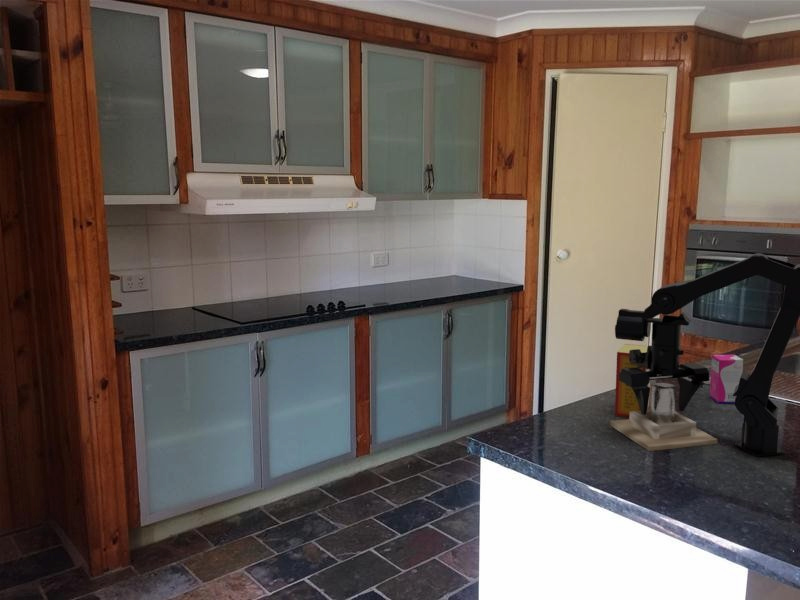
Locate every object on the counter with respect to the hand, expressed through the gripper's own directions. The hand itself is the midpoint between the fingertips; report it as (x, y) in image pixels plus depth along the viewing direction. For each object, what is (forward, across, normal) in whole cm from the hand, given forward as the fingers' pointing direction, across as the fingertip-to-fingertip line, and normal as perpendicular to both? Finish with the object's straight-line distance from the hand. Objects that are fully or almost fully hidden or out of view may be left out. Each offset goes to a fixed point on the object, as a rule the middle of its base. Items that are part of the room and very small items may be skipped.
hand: (662, 412), depth 146 cm
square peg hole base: (+5, 0, 0) cm, 5 cm away
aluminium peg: (+4, 0, 0) cm, 4 cm away
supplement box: (+5, -29, -17) cm, 34 cm away
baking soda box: (+5, -2, -15) cm, 16 cm away
